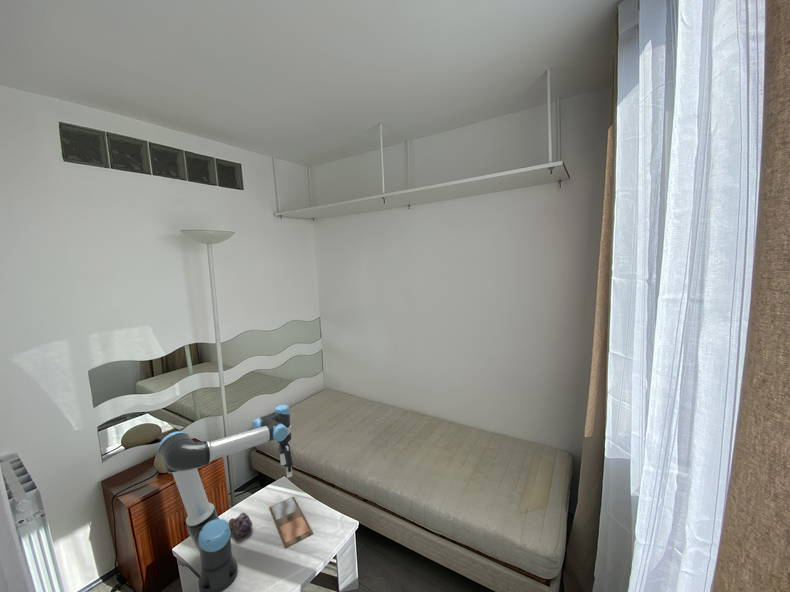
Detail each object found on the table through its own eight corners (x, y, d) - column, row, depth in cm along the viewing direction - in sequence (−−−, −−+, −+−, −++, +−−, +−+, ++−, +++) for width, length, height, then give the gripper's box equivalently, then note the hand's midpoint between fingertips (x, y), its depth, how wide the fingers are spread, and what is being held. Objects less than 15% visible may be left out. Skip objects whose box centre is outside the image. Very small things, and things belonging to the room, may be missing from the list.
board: (285, 548, 154) (285, 547, 154) (269, 508, 182) (268, 507, 182) (313, 533, 162) (313, 532, 162) (293, 497, 189) (293, 496, 189)
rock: (231, 538, 155) (246, 544, 161) (245, 520, 159) (258, 527, 165) (223, 524, 164) (237, 530, 169) (236, 507, 168) (250, 514, 173)
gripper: (297, 441, 168) (299, 479, 170) (285, 423, 189) (287, 457, 191) (282, 445, 164) (285, 485, 166) (271, 427, 185) (274, 462, 187)
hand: (286, 470), depth 178 cm, fingers open, 13 cm apart
